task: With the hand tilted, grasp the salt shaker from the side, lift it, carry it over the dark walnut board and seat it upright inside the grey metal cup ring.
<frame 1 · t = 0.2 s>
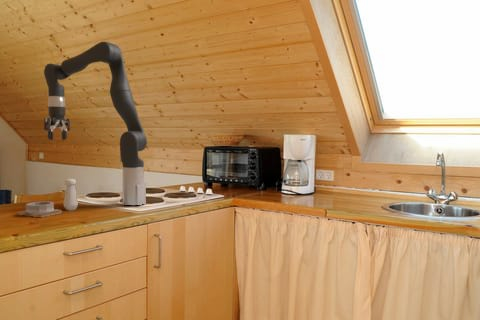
hand: (57, 139, 195), 29 cm above the countertop, tool pointing down, fingers open, 8 cm apart
cup holder: (40, 213, 159), on the countertop
salt shaker: (70, 209, 169), on the countertop
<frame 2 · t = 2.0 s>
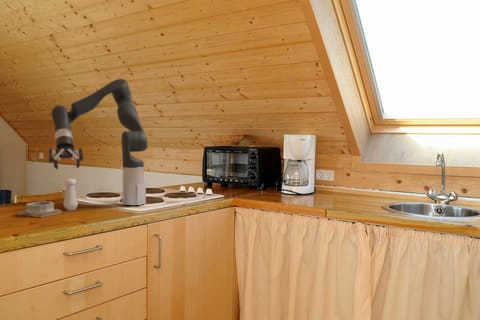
hand: (67, 167, 178), 17 cm above the countertop, tool tilted 45°, fingers open, 8 cm apart
nothing on the countertop moved.
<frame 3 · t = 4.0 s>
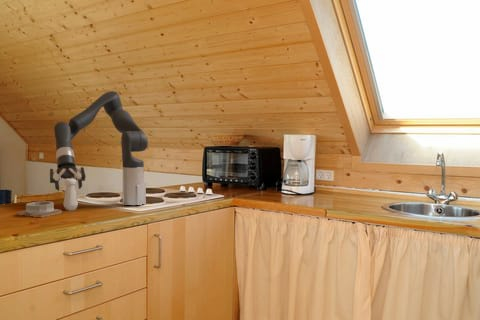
hand: (69, 188, 171), 8 cm above the countertop, tool tilted 45°, fingers open, 8 cm apart
nothing on the countertop moved.
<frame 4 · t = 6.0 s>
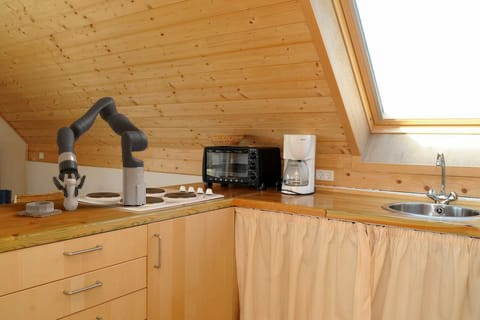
hand: (71, 196, 167), 6 cm above the countertop, tool tilted 45°, fingers closed on salt shaker, 3 cm apart
salt shaker: (70, 209, 169), on the countertop, touching gripper
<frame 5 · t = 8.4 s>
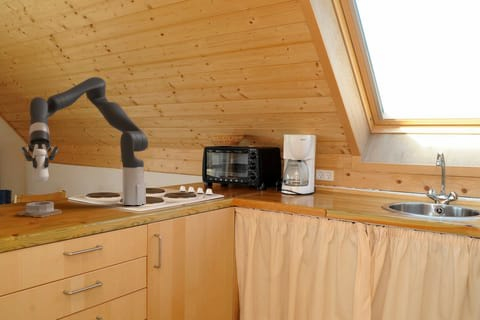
hand: (40, 167, 158), 19 cm above the countertop, tool tilted 45°, fingers closed on salt shaker, 3 cm apart
salt shaker: (40, 182, 160), point 13 cm above the countertop, touching gripper
when the fingers open (9 cm above the countertop, at t = 10.8 s): salt shaker drops 1 cm, resting on cup holder.
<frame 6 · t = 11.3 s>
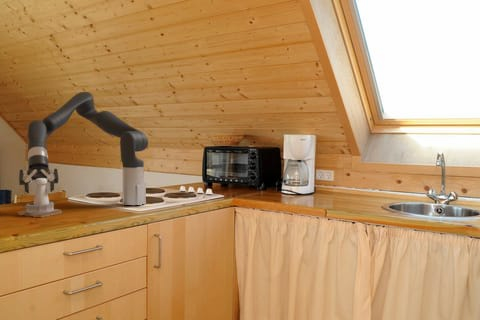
hand: (39, 191, 158), 9 cm above the countertop, tool tilted 45°, fingers open, 8 cm apart
salt shaker: (41, 211, 160), point 1 cm above the countertop, touching cup holder
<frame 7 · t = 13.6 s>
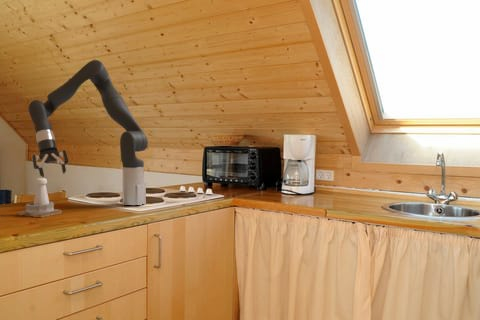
hand: (53, 174, 178), 13 cm above the countertop, tool tilted 25°, fingers open, 8 cm apart
nothing on the countertop moved.
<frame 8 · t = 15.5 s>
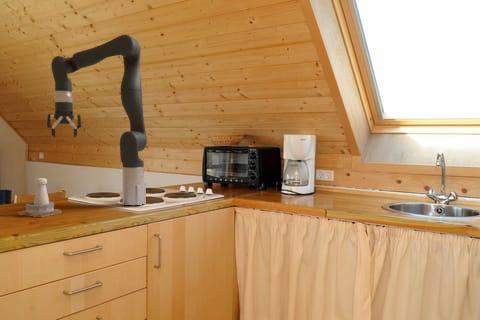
hand: (64, 137, 184), 30 cm above the countertop, tool pointing down, fingers open, 8 cm apart
nothing on the countertop moved.
at the end: salt shaker 0.9 cm from the cup holder (horizontally); salt shaker tilted 0°; salt shaker point 1.0 cm above the countertop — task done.
